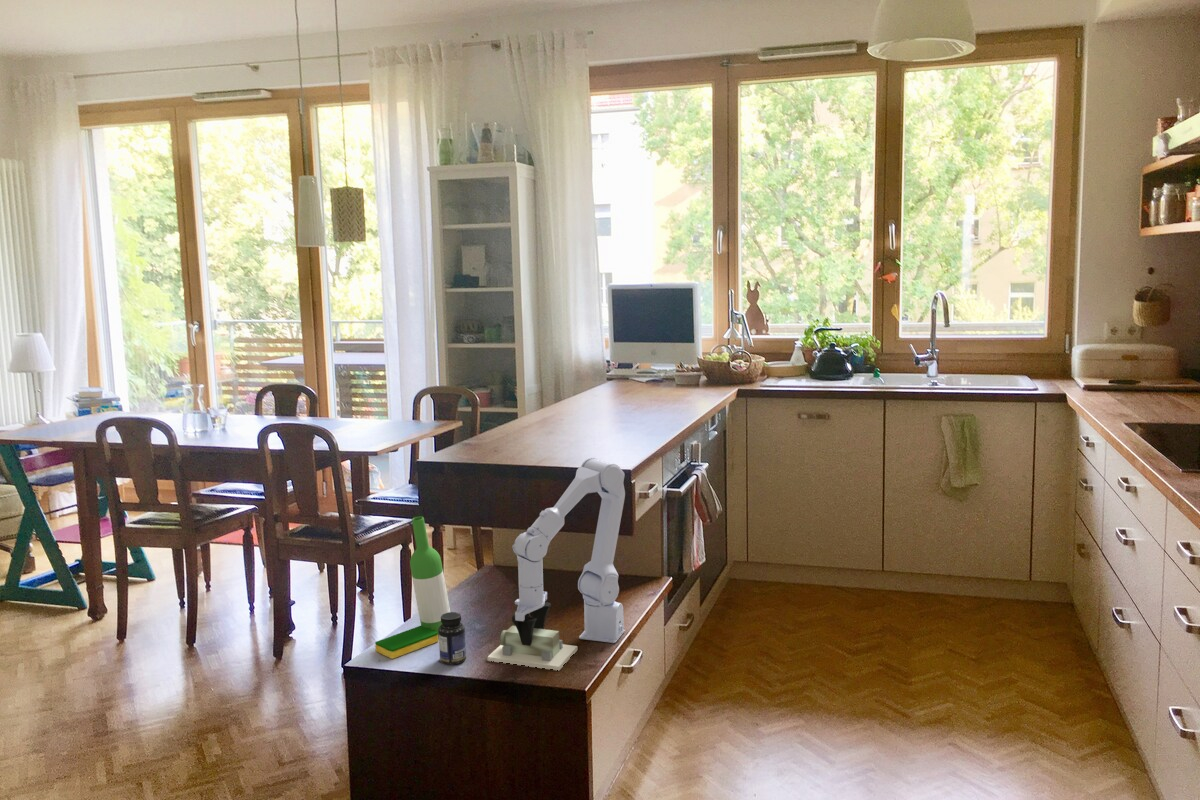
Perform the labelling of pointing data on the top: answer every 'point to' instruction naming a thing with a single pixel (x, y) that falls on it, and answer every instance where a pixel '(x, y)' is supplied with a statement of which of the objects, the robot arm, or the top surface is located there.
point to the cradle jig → (534, 657)
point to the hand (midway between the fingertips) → (532, 639)
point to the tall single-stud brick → (540, 641)
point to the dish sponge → (406, 642)
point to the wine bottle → (428, 579)
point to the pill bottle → (452, 639)
